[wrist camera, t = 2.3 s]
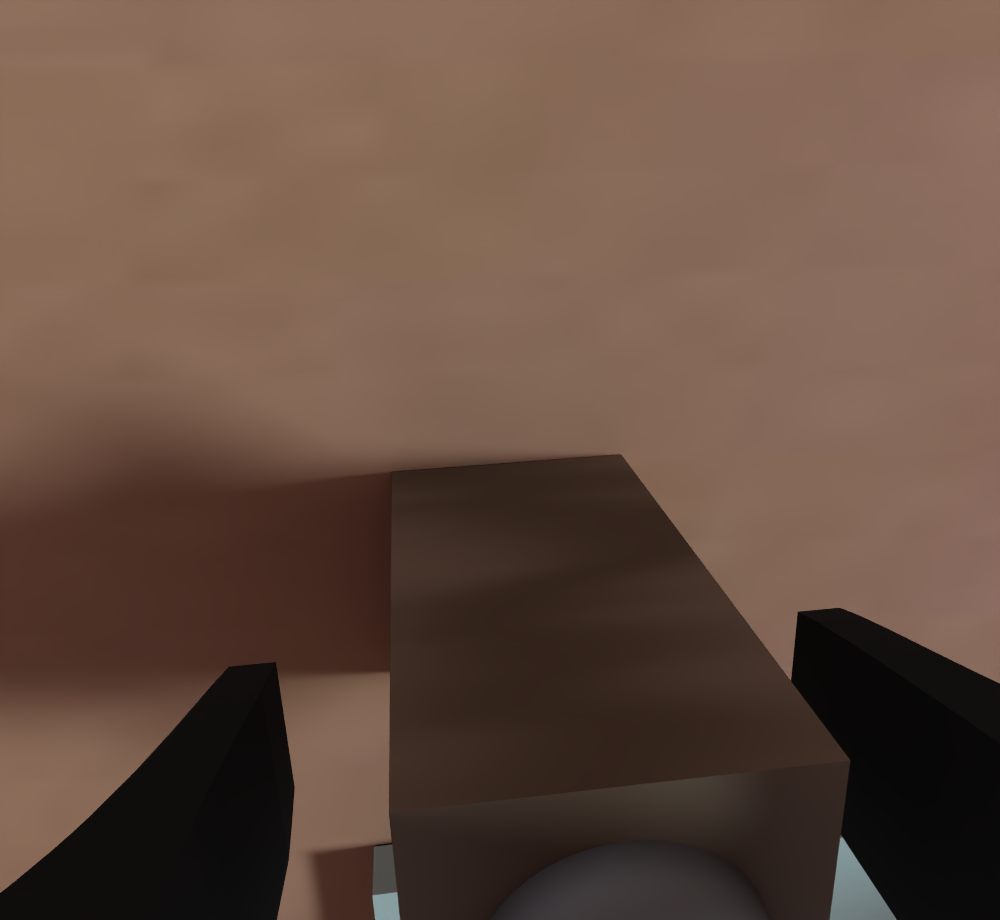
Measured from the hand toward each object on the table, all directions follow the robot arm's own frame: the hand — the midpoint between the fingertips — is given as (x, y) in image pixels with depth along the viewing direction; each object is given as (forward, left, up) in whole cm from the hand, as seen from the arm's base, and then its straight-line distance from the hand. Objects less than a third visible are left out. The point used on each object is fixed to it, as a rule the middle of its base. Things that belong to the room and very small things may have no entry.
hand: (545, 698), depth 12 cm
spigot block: (0, 0, -4) cm, 4 cm away
